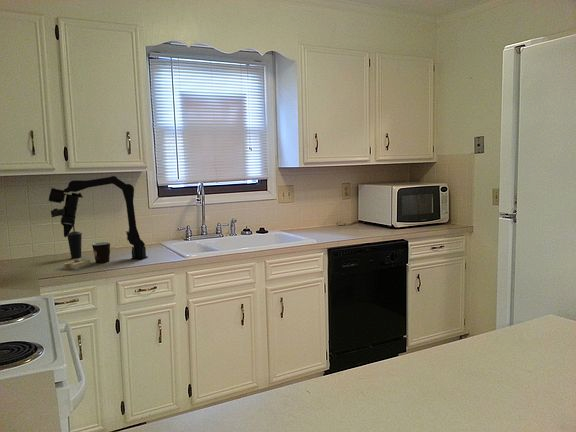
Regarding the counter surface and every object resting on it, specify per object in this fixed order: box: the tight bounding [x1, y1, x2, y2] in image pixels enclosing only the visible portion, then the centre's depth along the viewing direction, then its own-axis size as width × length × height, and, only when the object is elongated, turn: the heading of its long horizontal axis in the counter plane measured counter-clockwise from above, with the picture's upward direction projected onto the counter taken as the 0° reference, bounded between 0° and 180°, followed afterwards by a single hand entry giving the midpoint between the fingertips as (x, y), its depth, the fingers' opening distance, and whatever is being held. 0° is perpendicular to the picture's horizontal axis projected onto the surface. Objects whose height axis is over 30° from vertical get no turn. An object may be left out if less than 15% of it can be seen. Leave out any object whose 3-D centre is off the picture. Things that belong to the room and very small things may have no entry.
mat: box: [54, 262, 100, 272], centre depth 234 cm, size 14×16×1 cm
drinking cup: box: [66, 225, 83, 260], centre depth 256 cm, size 8×8×20 cm
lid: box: [63, 258, 91, 269], centre depth 234 cm, size 7×10×4 cm
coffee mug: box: [91, 241, 111, 264], centre depth 242 cm, size 12×9×10 cm
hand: (65, 235), depth 237 cm, fingers open, 9 cm apart
